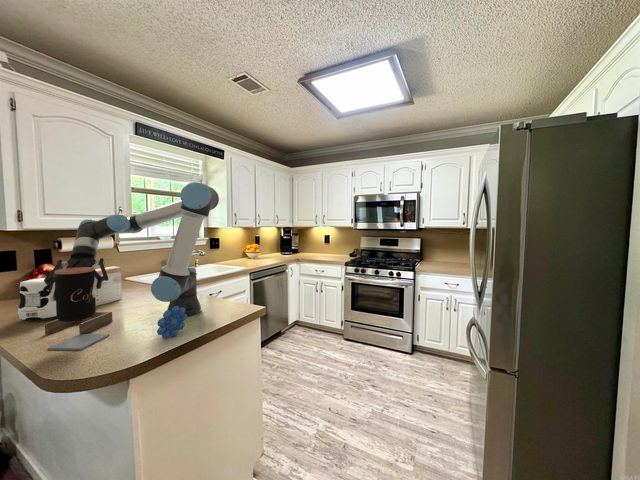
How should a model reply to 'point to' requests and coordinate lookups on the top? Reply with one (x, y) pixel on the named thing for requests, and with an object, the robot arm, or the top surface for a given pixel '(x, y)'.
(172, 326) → the grapes
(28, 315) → the milk container
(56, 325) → the holder
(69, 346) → the plate
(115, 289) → the coffeecake box
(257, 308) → the top surface
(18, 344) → the top surface
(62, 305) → the coffee jar
